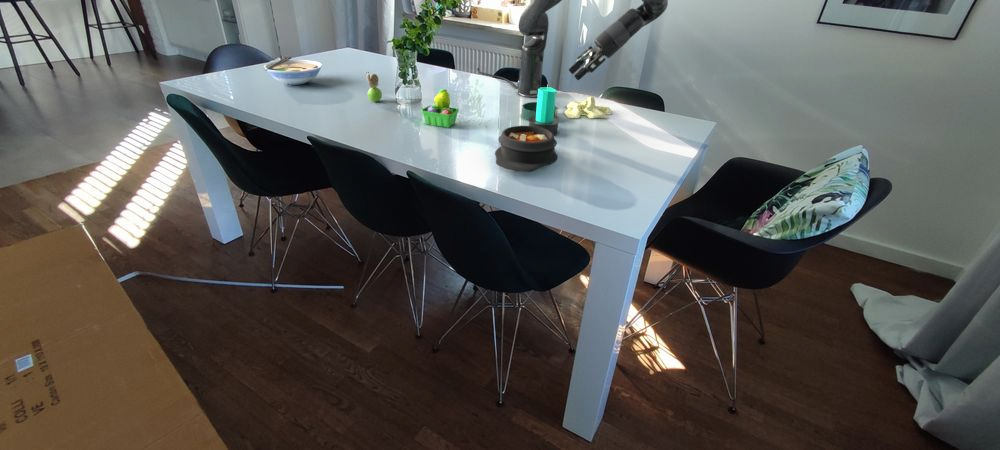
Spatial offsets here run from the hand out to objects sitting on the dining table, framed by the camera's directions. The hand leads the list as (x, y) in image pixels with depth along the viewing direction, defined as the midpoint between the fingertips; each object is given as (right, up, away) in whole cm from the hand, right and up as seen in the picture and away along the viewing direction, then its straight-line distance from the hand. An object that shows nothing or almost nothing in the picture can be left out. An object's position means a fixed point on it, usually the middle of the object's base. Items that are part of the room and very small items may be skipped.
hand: (572, 75), depth 156 cm
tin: (-9, -9, +23) cm, 26 cm away
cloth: (+10, -5, +31) cm, 33 cm away
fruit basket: (-45, -14, +11) cm, 48 cm away
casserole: (-16, -30, -15) cm, 37 cm away
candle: (-9, -13, +7) cm, 18 cm away
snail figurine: (-73, -1, +30) cm, 79 cm away
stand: (-9, -17, +9) cm, 21 cm away
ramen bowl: (-112, +12, +49) cm, 122 cm away
